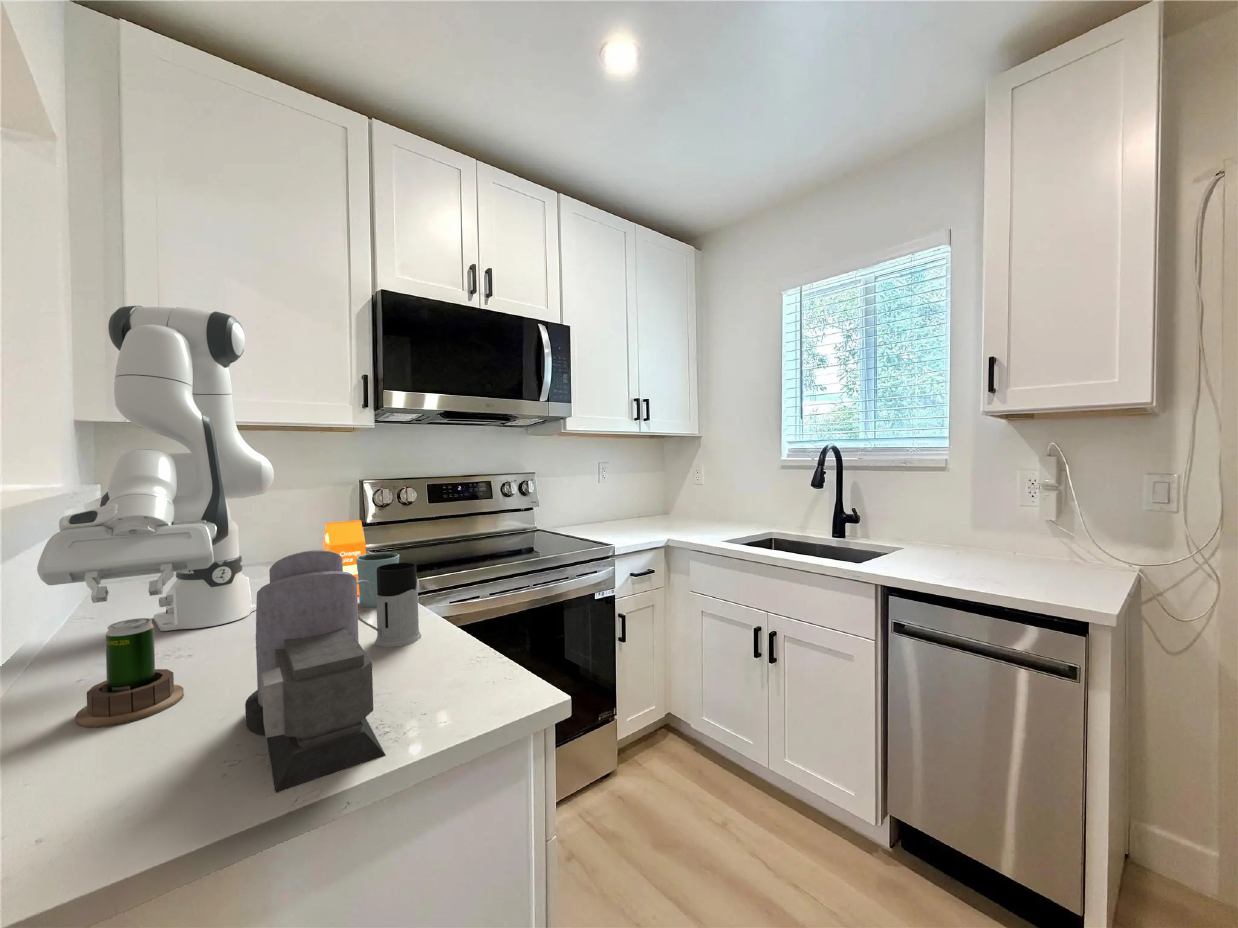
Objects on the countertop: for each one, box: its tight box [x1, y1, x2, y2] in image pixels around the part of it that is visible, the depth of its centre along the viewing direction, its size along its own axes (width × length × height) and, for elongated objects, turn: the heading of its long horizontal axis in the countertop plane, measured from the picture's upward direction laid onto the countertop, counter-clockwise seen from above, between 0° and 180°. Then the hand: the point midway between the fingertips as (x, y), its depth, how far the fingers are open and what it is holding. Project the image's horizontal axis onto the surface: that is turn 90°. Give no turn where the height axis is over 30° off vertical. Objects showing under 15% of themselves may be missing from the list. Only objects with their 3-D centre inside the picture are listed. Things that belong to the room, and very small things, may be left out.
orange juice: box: [323, 519, 367, 597], centre depth 142 cm, size 8×9×20 cm
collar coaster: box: [75, 668, 185, 728], centre depth 80 cm, size 12×12×4 cm
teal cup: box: [356, 551, 400, 608], centre depth 134 cm, size 10×10×12 cm
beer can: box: [105, 617, 156, 693], centre depth 80 cm, size 5×5×12 cm
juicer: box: [244, 549, 387, 794], centre depth 74 cm, size 30×16×24 cm, turn 37°
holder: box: [357, 562, 422, 648], centre depth 105 cm, size 9×14×15 cm, turn 146°
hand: (127, 596), depth 79 cm, fingers open, 5 cm apart
